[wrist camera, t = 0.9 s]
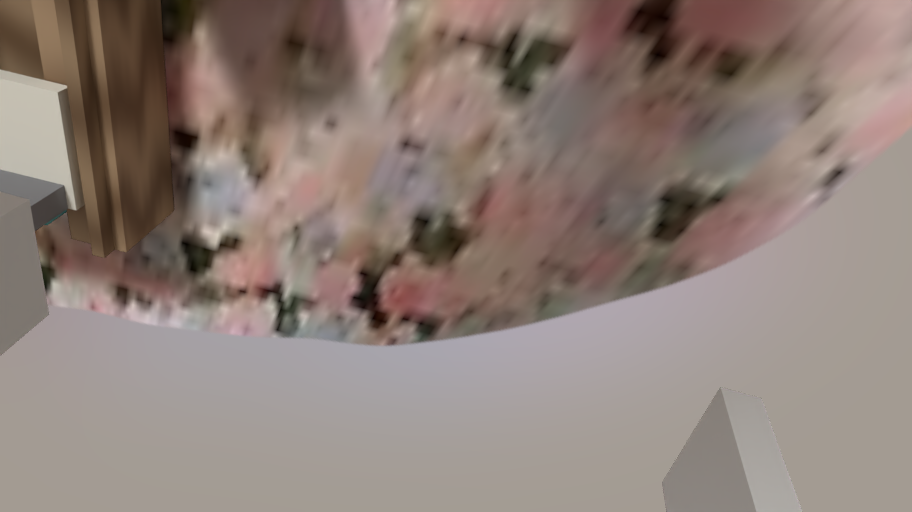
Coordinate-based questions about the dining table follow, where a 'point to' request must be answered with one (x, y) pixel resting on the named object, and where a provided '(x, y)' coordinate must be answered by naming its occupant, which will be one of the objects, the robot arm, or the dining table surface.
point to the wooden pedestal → (103, 106)
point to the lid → (38, 146)
